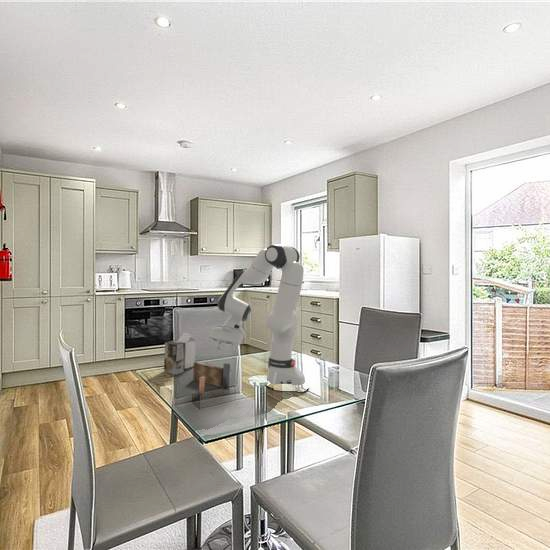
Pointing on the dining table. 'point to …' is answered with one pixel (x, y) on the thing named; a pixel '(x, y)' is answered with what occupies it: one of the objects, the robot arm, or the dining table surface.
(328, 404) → the dining table surface
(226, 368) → the gate post
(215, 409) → the dining table surface
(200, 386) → the catch post
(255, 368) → the dining table surface
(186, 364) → the milk carton
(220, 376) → the gate
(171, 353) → the coffee box
